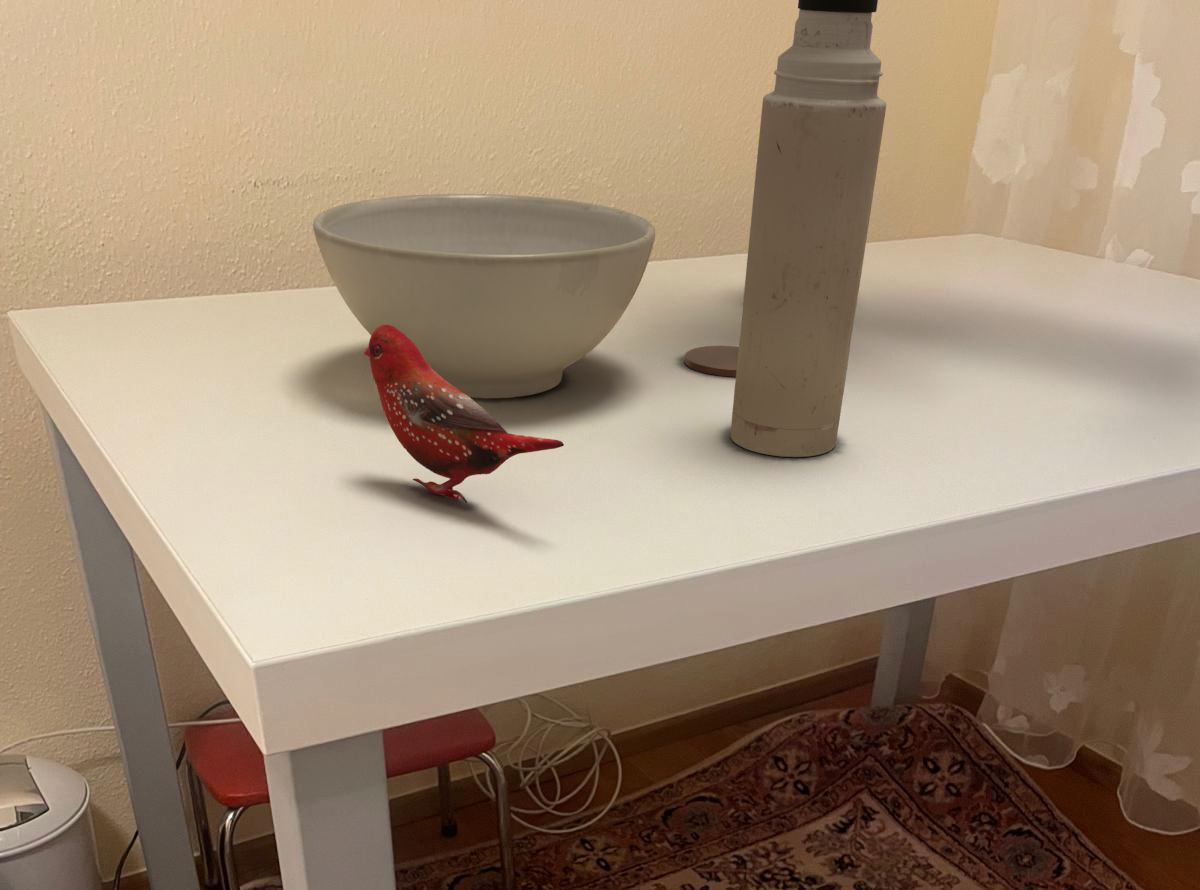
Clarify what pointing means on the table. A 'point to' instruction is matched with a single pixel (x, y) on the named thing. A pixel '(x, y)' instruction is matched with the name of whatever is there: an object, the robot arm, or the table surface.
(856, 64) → the thermos bottle
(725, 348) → the walnut coaster
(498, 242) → the decorative bowl
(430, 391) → the decorative bird figurine
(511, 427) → the table surface
